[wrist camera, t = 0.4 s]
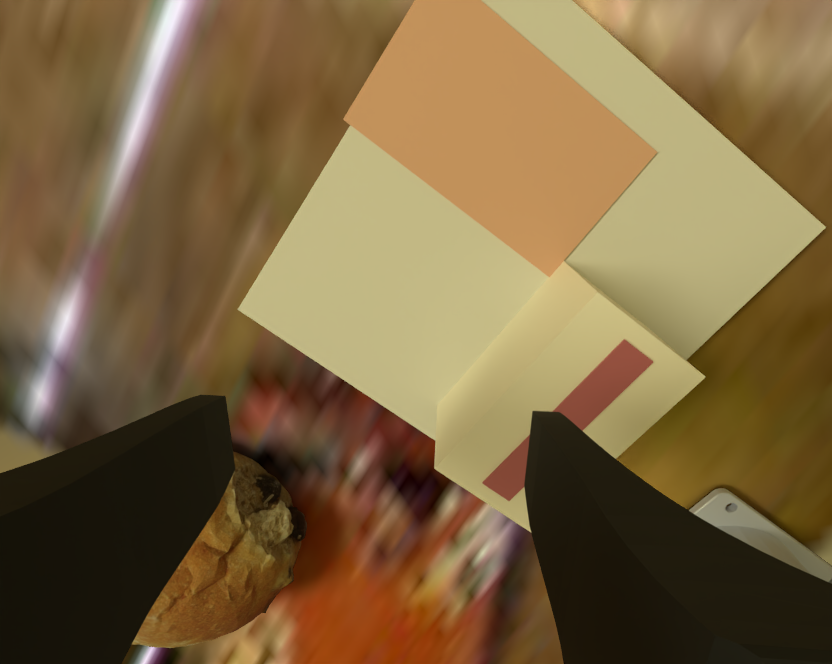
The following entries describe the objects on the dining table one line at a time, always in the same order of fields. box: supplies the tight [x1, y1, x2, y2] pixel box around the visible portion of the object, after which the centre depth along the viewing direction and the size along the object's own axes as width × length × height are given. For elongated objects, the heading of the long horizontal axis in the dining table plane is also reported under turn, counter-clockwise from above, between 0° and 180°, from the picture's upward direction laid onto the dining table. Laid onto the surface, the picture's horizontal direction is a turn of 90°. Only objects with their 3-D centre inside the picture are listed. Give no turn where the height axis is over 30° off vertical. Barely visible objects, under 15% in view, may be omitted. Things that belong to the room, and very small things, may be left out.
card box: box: [434, 261, 705, 532], centre depth 18 cm, size 4×8×5 cm, turn 144°
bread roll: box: [132, 452, 307, 648], centre depth 22 cm, size 10×10×8 cm
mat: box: [238, 0, 826, 441], centre depth 19 cm, size 16×16×1 cm
